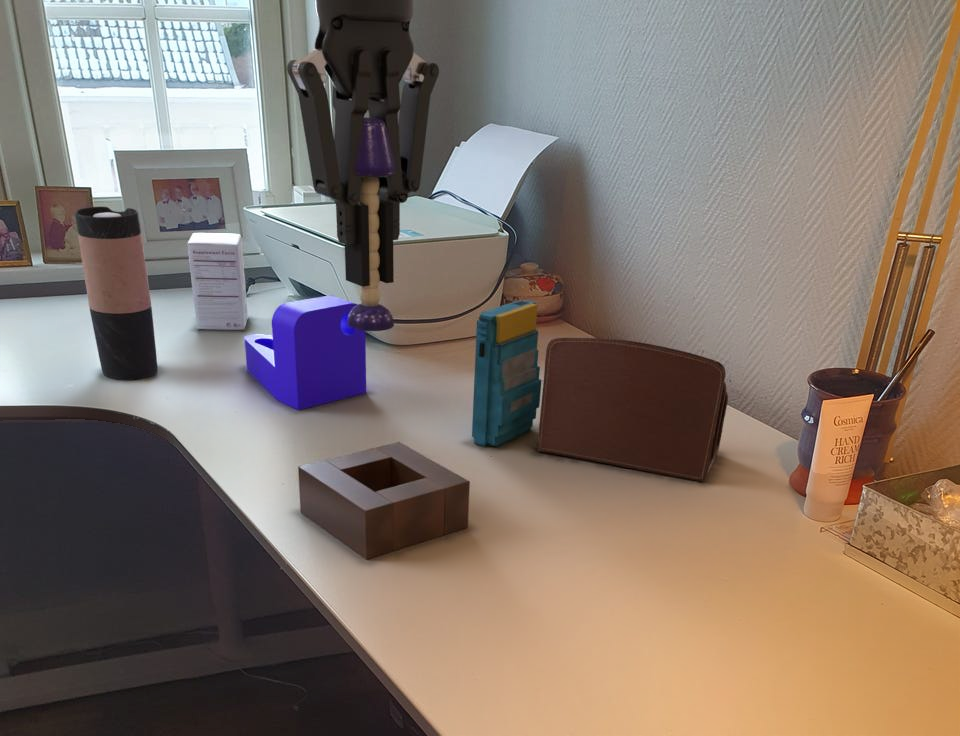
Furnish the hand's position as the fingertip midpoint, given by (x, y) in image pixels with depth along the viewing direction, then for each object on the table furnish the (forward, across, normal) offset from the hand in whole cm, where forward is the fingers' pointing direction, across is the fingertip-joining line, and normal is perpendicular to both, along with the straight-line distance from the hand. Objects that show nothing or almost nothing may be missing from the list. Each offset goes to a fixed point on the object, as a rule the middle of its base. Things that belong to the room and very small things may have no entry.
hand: (369, 280), depth 88 cm
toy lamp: (+4, 0, 0) cm, 4 cm away
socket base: (+23, 0, -2) cm, 23 cm away
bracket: (+23, +13, +39) cm, 47 cm away
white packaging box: (+23, +18, +69) cm, 75 cm away
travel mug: (+23, -3, +54) cm, 59 cm away
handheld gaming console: (+23, +25, +9) cm, 35 cm away
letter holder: (+23, +34, -3) cm, 41 cm away
